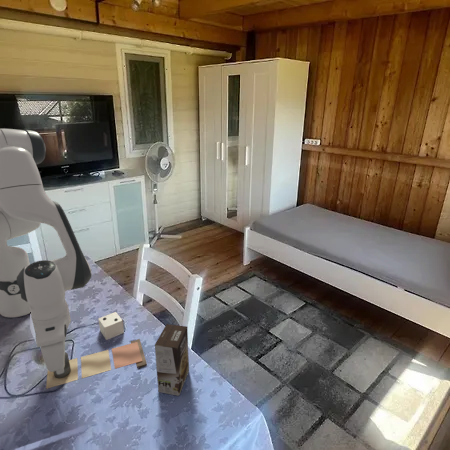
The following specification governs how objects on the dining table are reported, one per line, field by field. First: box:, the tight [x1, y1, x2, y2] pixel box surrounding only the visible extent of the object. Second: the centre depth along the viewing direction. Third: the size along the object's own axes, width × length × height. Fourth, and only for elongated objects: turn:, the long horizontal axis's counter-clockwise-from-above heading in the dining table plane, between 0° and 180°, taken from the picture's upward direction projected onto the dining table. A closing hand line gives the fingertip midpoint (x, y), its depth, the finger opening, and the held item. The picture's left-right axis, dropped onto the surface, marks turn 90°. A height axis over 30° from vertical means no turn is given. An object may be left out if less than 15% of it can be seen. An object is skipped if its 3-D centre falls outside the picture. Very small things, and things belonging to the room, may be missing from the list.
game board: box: [45, 338, 148, 390], centre depth 98 cm, size 12×28×1 cm, turn 114°
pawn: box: [53, 351, 71, 379], centre depth 93 cm, size 4×4×8 cm
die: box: [98, 311, 125, 341], centre depth 110 cm, size 6×6×6 cm
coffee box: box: [154, 323, 190, 397], centre depth 90 cm, size 9×6×16 cm
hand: (61, 360), depth 93 cm, fingers open, 8 cm apart
